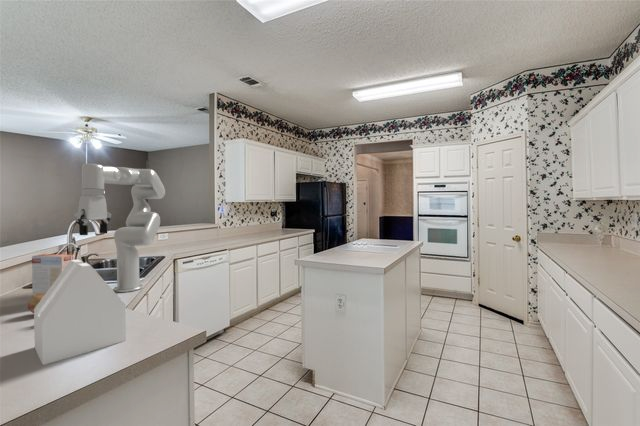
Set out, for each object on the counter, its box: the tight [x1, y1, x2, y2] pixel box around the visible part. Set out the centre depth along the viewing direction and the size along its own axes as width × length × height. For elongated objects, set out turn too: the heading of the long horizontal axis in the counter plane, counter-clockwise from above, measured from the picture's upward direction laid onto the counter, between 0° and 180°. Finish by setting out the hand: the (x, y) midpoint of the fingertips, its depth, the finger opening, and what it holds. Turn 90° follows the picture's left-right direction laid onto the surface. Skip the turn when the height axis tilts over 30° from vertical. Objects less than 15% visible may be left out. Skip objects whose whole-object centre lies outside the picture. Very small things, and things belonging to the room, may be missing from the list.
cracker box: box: [31, 253, 74, 299], centre depth 132 cm, size 14×6×21 cm, turn 84°
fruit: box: [27, 294, 45, 314], centre depth 117 cm, size 8×8×8 cm
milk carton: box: [33, 259, 127, 366], centre depth 92 cm, size 19×15×25 cm
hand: (94, 234), depth 128 cm, fingers open, 9 cm apart
